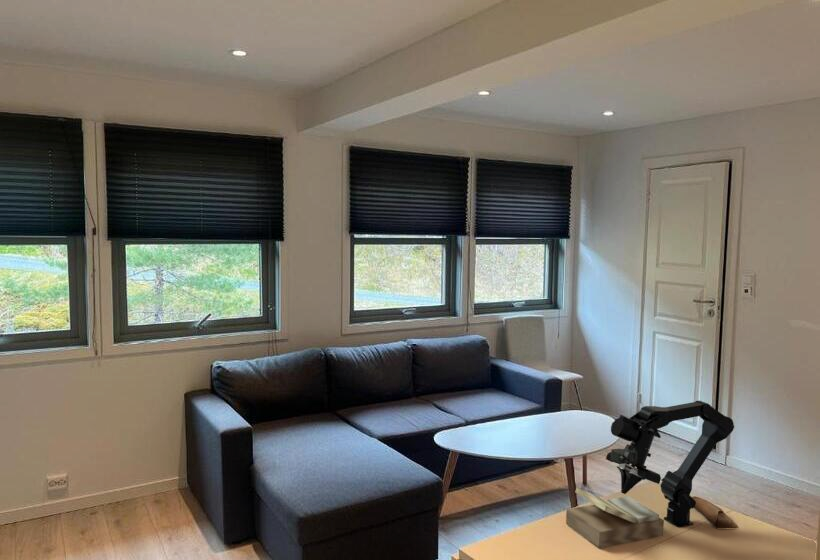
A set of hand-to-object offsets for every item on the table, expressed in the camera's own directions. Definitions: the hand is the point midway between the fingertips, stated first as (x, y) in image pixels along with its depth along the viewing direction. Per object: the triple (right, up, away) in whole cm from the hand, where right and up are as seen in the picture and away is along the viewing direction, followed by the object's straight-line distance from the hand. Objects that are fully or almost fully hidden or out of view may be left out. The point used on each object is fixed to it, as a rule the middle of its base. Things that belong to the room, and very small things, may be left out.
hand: (623, 493), depth 185 cm
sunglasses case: (+34, -12, +11) cm, 38 cm away
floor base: (-3, -11, 0) cm, 12 cm away
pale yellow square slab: (-6, -4, -2) cm, 8 cm away
